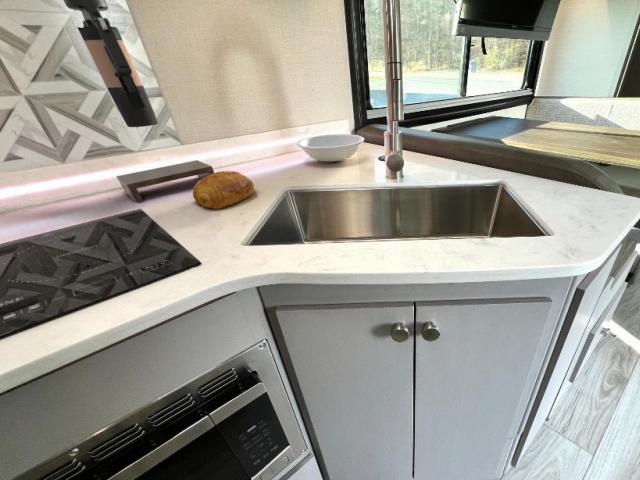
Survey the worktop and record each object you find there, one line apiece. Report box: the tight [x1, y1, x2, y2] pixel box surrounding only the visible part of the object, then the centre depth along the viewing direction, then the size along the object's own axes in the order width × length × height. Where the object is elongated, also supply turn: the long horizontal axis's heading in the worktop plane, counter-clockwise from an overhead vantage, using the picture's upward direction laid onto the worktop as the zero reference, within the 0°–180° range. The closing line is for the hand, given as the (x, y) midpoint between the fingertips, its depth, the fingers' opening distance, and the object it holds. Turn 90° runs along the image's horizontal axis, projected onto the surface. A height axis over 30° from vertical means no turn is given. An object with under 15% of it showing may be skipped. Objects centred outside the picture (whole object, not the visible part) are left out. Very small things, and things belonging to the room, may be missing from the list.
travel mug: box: [77, 25, 159, 128], centre depth 79 cm, size 8×8×20 cm
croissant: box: [192, 170, 255, 210], centre depth 84 cm, size 14×16×8 cm
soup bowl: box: [296, 133, 365, 162], centre depth 115 cm, size 24×24×7 cm
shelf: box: [116, 159, 215, 204], centre depth 94 cm, size 22×12×5 cm, turn 137°
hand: (134, 107), depth 82 cm, fingers closed on travel mug, 8 cm apart
